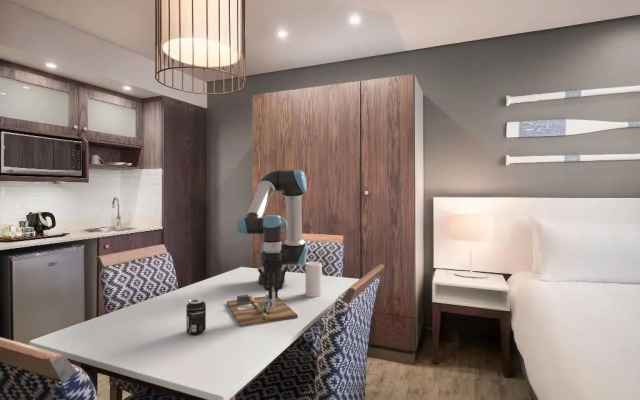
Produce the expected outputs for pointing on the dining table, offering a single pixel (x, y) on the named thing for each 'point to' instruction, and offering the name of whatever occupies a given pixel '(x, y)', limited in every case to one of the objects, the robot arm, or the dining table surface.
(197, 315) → the beverage can
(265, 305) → the bar
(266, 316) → the door board
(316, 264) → the cup
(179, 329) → the dining table surface
